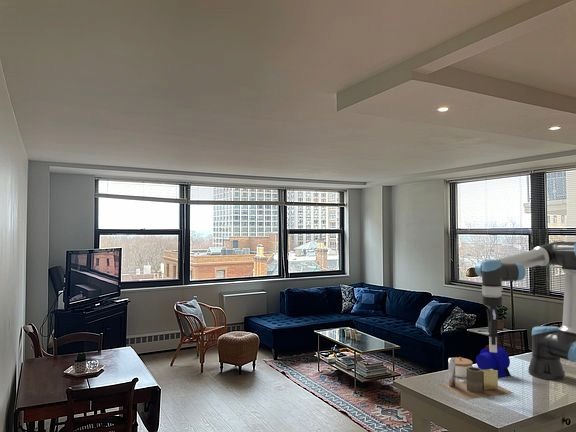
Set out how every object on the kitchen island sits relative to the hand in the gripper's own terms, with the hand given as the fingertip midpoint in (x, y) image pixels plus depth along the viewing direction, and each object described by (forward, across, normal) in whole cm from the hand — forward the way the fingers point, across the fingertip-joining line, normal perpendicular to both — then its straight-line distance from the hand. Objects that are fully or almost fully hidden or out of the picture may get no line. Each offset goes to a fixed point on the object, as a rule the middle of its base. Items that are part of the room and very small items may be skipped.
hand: (493, 351), depth 180 cm
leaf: (+17, +2, +1) cm, 17 cm away
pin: (+17, +2, +16) cm, 24 cm away
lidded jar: (+18, +20, +12) cm, 29 cm away
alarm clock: (+19, +30, -3) cm, 35 cm away
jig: (+18, +2, +7) cm, 20 cm away
